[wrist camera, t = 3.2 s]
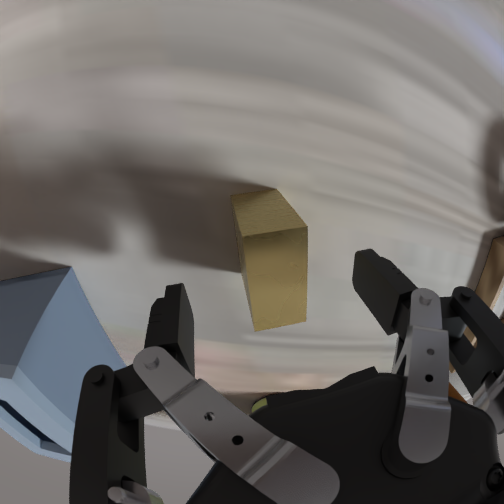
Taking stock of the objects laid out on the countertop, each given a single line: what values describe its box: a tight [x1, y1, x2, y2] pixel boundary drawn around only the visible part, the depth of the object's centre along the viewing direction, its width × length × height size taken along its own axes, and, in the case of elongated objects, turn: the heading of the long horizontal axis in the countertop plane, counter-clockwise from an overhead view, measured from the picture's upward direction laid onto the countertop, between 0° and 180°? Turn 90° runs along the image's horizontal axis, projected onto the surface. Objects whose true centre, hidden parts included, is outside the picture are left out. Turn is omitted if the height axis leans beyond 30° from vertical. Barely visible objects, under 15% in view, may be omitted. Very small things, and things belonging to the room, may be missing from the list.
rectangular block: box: [231, 189, 308, 331], centre depth 14 cm, size 5×2×5 cm, turn 6°
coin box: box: [0, 267, 126, 462], centre depth 13 cm, size 12×10×9 cm
